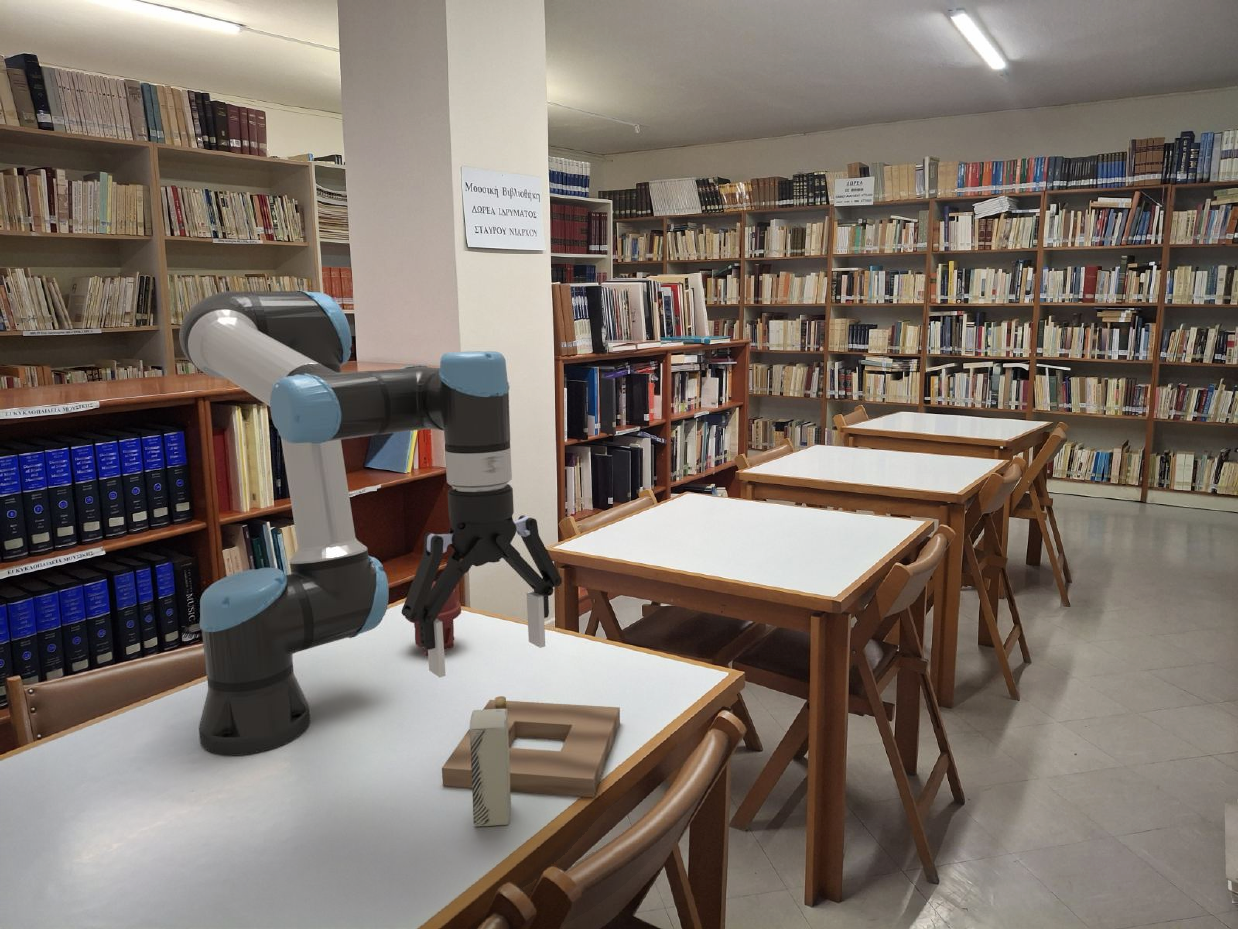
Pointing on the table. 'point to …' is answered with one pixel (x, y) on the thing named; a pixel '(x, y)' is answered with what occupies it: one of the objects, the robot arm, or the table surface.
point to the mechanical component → (443, 621)
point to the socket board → (545, 769)
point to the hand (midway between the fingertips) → (489, 658)
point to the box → (490, 767)
